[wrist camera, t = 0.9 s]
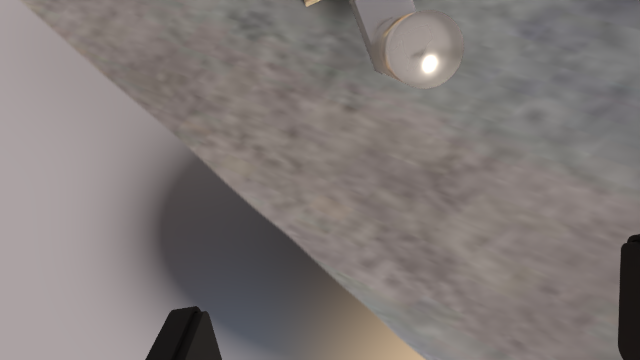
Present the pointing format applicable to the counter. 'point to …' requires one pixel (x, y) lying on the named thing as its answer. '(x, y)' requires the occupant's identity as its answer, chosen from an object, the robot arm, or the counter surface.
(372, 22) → the shaft
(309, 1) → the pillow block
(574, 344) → the counter surface
